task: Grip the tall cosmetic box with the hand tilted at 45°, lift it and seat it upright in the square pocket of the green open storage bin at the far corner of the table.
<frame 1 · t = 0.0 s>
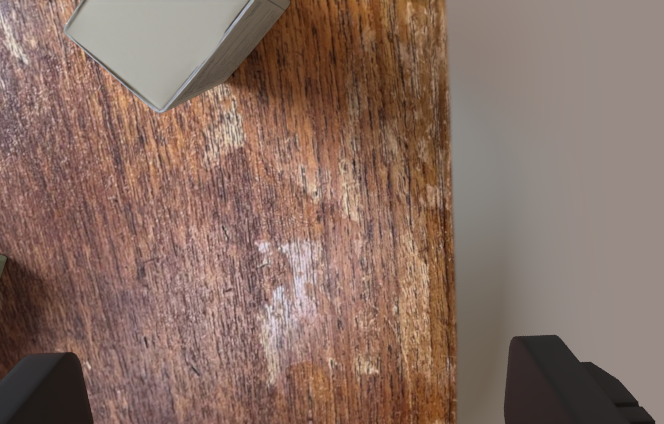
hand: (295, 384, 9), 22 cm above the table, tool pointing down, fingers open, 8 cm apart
cosmetic box: (229, 20, 28), on the table
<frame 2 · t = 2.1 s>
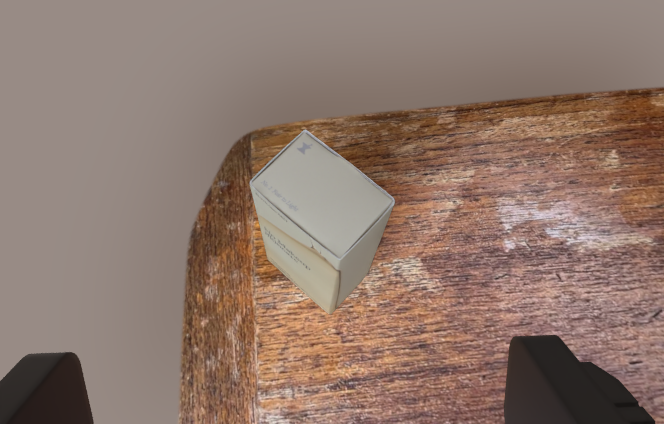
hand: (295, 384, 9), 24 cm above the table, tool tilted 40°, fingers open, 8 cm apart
cosmetic box: (320, 266, 36), on the table
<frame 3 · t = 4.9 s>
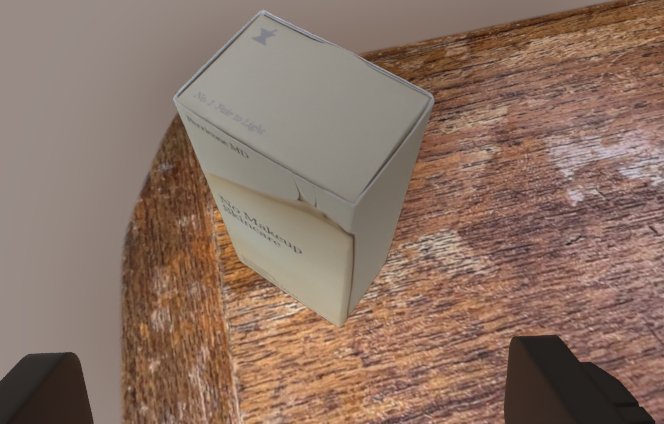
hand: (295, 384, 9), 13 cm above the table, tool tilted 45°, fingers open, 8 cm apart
cosmetic box: (316, 260, 25), on the table
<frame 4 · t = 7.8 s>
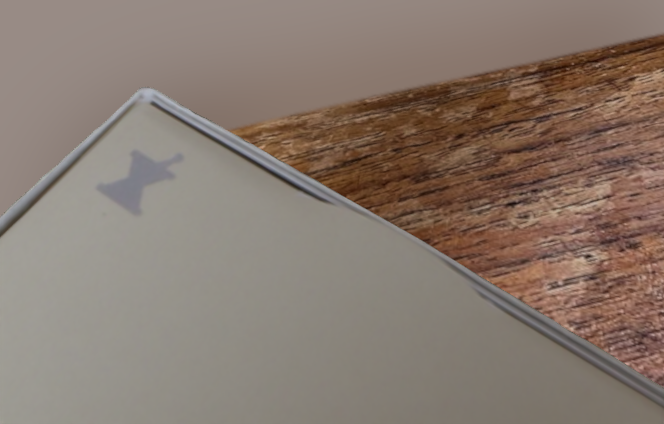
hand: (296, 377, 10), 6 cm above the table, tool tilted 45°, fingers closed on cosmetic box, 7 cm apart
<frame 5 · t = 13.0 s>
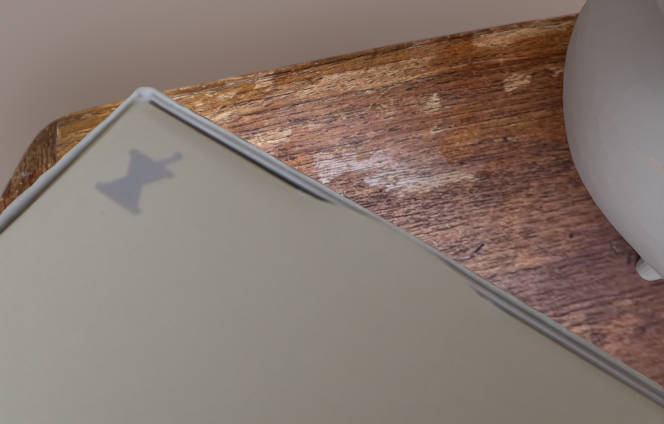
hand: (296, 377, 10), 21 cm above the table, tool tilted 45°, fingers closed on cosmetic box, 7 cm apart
table lamp: (639, 210, 34), on the table
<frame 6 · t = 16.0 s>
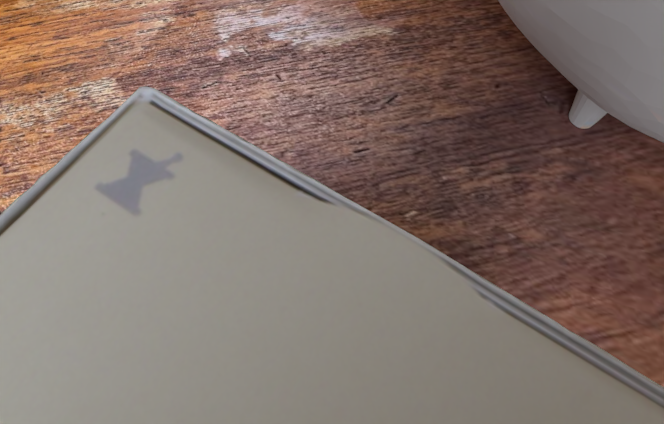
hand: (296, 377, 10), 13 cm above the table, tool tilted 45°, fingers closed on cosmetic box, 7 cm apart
table lamp: (577, 61, 30), on the table
when the fingers open (7 cm above the table, at t = 18.4 s): cosmetic box stays where it is, resting on green open storage bin.
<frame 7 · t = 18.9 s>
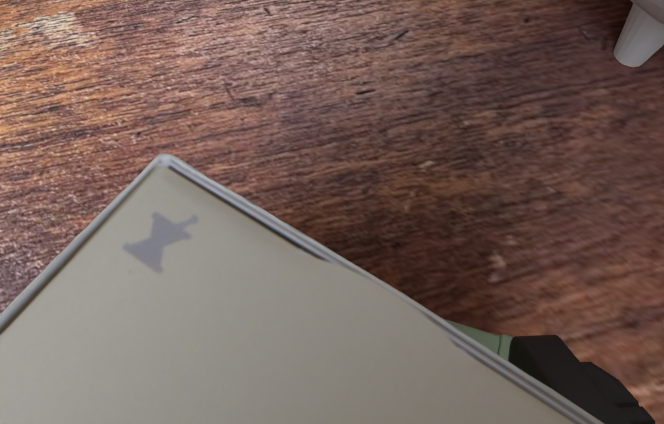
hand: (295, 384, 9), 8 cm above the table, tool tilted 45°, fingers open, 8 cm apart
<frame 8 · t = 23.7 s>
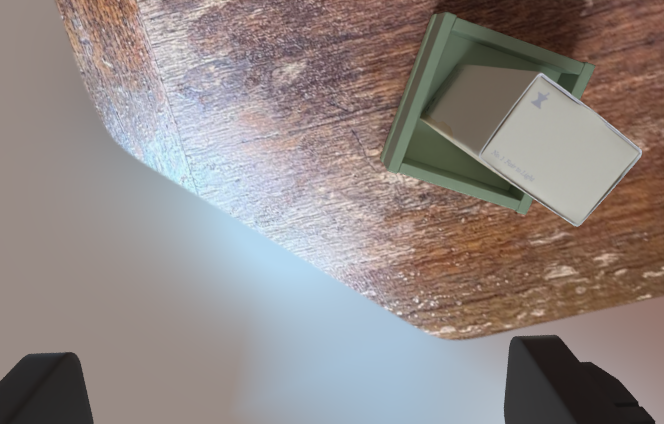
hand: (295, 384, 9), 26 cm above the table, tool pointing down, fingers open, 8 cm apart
green open storage bin: (472, 112, 34), on the table
cosmetic box: (474, 116, 33), point 1 cm above the table, touching green open storage bin
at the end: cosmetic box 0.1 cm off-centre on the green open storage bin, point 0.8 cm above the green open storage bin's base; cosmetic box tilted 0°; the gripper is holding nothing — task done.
